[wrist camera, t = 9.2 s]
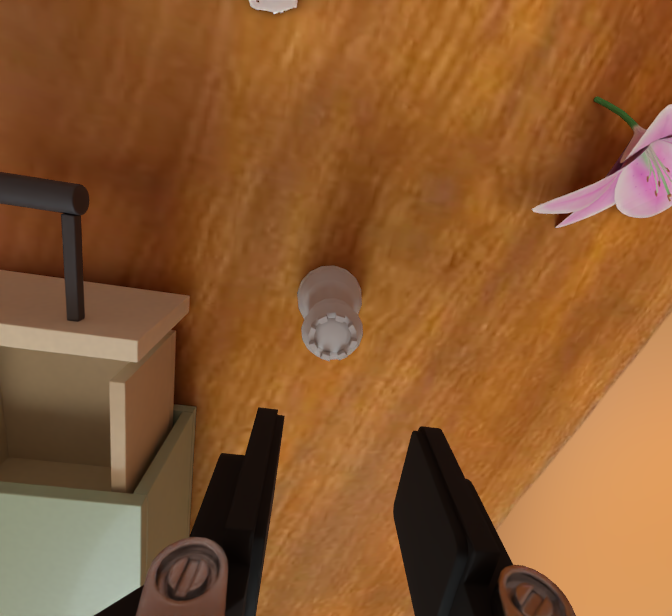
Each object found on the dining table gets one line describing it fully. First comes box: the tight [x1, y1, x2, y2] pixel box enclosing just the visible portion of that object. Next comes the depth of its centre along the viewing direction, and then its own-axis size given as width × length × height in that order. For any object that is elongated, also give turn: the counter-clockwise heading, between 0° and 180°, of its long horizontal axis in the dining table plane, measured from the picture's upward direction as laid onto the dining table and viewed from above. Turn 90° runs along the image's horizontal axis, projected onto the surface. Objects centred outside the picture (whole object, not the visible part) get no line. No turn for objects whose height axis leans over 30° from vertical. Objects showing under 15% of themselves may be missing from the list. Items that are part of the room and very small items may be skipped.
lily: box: [532, 96, 672, 228], centre depth 22 cm, size 12×12×10 cm
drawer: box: [0, 172, 190, 494], centre depth 23 cm, size 21×13×8 cm, turn 171°
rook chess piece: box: [297, 266, 363, 361], centre depth 24 cm, size 4×4×8 cm
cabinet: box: [0, 404, 196, 616], centre depth 27 cm, size 16×15×10 cm
